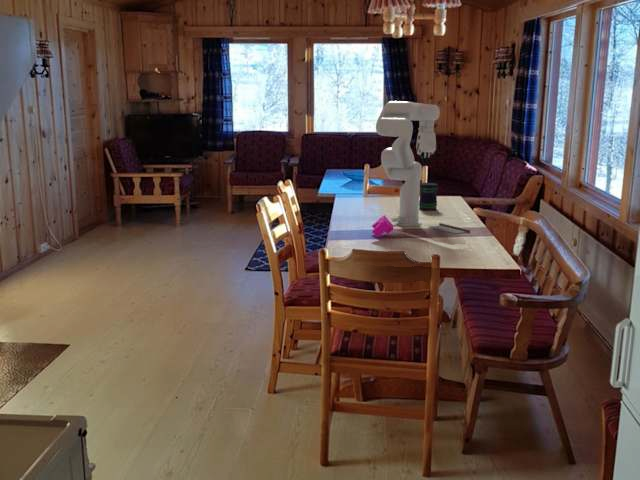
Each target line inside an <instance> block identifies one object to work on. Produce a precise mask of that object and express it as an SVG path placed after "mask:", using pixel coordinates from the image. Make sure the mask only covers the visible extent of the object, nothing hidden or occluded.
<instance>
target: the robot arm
mask: <svg viewBox="0 0 640 480" xmlns="http://www.w3.org/2000/svg"><path fill="white" fill-rule="evenodd" d="M440 113H441V111H440V107H439V106H438V105H435V104H429V103H422V102H421V103H420V102H414V101H403V100H402V101H401V100H399V101H397V100H394V101H393V100H390V101H388V102H387V103H385V105H384V106H383V108H382V110H381V111H380V114H379V116H378V118H377V121H376V124H375V131H376V133H377V134H378V135H379V136H382V137H397V138H396V139H395V140H394V141H393V143H392V144H391V147H387V148H385V149H383V150H382V151H381V156H380V160H381V161H380V162H381V165H382V168H383V170H384V171H385V173H386V175H387V178H389V179H390V180H397V181H404V183H403V184H402V185H401V186H400V189H399V210H398V212H399V214H398V215H397V217H392V218H390V219H391V223H395V224H396V225H397V226H398V225H399V226H403V227H416V226H421V225H422V222H421V221H420V220H419V212H420V211H419V210H420V209H419V200H420V183H421V178H422V175H423V166H429V158H430V157H431V155H433V154H435V151H437V139H436V137H437V135H436V133H435V121H437V120H438V119H439V118H440ZM412 121H417V122H418V121H419V123H418V124H419V127H418V128H417V130H418V133H417V137H416V143H415V144H416V146H415V147H416V148H415V149H416V154H417V155H419V156H420V157H421V163H420V162H419V161H415V156H414V153H413V150H412V148H411V145H410V144H411V141H412V136H413V130H414V126H413V122H412Z"/></svg>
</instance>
